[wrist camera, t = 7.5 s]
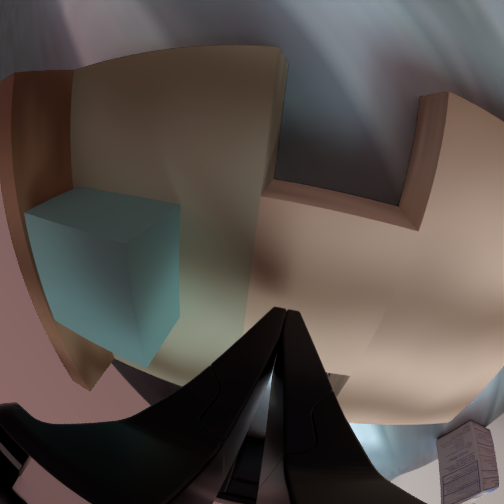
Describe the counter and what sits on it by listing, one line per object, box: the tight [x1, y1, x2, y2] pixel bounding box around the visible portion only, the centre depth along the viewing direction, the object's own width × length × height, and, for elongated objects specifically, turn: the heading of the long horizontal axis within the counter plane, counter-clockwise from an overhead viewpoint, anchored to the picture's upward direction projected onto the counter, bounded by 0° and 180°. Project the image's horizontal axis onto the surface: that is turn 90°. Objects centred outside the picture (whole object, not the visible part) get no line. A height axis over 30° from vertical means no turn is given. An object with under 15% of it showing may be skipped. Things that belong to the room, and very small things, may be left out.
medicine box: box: [436, 421, 499, 504], centre depth 12 cm, size 8×4×9 cm, turn 57°
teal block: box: [24, 187, 180, 368], centre depth 9 cm, size 5×5×3 cm
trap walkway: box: [0, 45, 504, 425], centre depth 9 cm, size 16×24×6 cm, turn 83°
